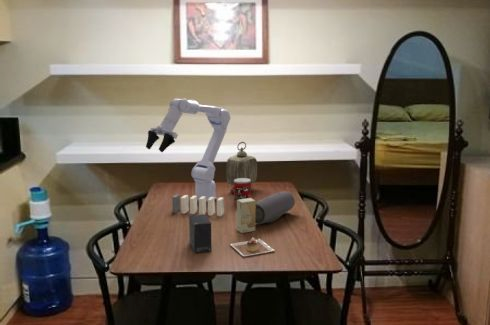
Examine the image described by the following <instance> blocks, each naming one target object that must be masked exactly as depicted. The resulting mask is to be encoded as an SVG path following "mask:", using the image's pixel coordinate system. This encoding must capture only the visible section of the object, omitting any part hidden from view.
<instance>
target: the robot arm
mask: <svg viewBox="0 0 490 325" xmlns="http://www.w3.org/2000/svg"><path fill="white" fill-rule="evenodd" d="M197 113H205V116H206V118H207V120H208V122H209V124H210V126H211V127H212V128H213V132H212V135H211V136H210V139H209V142H208V143H207V146H206V149H205V151H204V154H203V156H202V158H201V159H200V160H199V161H197V162H196V164H195V165H194V167H193V168H192V169H191V177H192V179H193V182H194V184H195V186H194V188H195V196H197V203H199V198H200V197H202V196H206V203H208V199H209V198H210V197H215V200H217V199H218V197H217V188H216V186H217V185H216V183H215V180H213V179H214V178H215V171H216V167H215V165H214V162H215V160H216V157H217V155H218V152H219V150H220V147H221V145H222V142H223V140H224V138H225V135H226V132H227V129H228V126H229V123H230V120H231V115H230V112H229V110H228V109H226V108H225V109H224V108H223V107H218V106H214V105H203V104H199V102H198V101H196V100H195V99H187V98H174V99H172V100H170V102H169V108H168V111H167V113H166V115H164V118H163V120H162V121H161V123H160V125H157V126H156V127H151V128H150V129H149V130H148V132H147V141H146V145H145V148H146V149H148V150H151V149H152V147H153V145H154V144H155V143H156V142H157V141H158V140H160V136H163V138H162V141H161V143H160V144H159V145H160V146H159V147H158V151H159V152H160V153H163V152H164V151H166V150H167V148H168V147H170V146H171V145H173V144H174V143H175V142H176V140H177V138H178V136H179V135H178V133H177V132H175V131H174V129H175V128H176V126H177V124H178V122H179V121H180V119H181V117H182V116H183V114H192V115H196V114H197ZM175 139H176V140H175Z"/></svg>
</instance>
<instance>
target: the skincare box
mask: <svg viewBox="0 0 490 325" xmlns="http://www.w3.org/2000/svg"><path fill="white" fill-rule="evenodd" d="M256 202H257V201H256V199H253V198H252V197H251V198H247V199H240V200H237V205H236V231H237V232H239V233H241V234H243V233H249V232H255V231H256V223H255V208H256Z"/></svg>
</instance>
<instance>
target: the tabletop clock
mask: <svg viewBox="0 0 490 325" xmlns="http://www.w3.org/2000/svg"><path fill="white" fill-rule="evenodd" d="M241 144H244V147H242V146H241V147H240V148H239V146H240V145H241ZM246 148H247V143H246V142H245V141H240V142H238V144H237V150H238V151H237V153H236V154H234V155H232V156H230V157H229V158H228V159H227V161H226V169H225V170H226V173H225V174H226V181H227V182H226V183H227V185H230V186H233V187H232V189H230V193H231V194H232V193H233V194H234V180H235V179H238V178H248V179H250V180H251V184H253V183H255V182H256V181H257V178H258V162H257V161H258V160H257V158H256V157H255V156H252V155H248V153H247V152H246V151H245V150H246Z"/></svg>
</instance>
